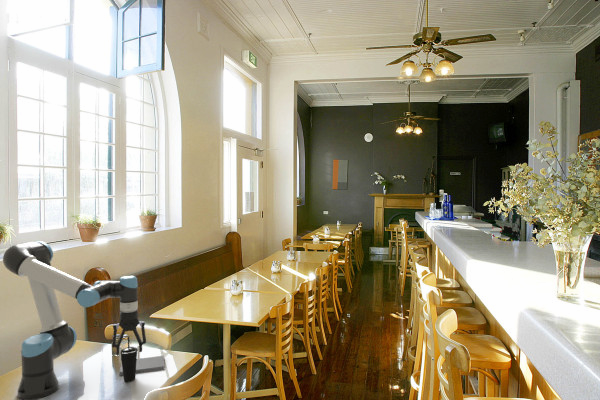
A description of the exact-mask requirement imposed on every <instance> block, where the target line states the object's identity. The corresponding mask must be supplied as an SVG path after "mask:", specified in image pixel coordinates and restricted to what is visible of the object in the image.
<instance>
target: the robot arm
mask: <svg viewBox="0 0 600 400" xmlns="http://www.w3.org/2000/svg"><path fill="white" fill-rule="evenodd" d="M53 257H54V251H53V249H52V247H51V246H50V245H49V244H48V243H46V242H45V241H36V240H35V241H30V242H25V243H19V244H15V245H14V244H13V245H12V246H10V247H8V248H7V249H6V250H5V252H4V253H3V256H2V261H3V262H2V263H3V265H4V267H5V269H6V270H8V271H9V272H11V273H12V274H15V275H17V276H18V277H22V278H24V277H27V280H28V283H29V286H30V290H31V293H32V296H33V300H34V303H35V307H36V311H37V314H38V317H39V321H40V325H41V328H40V329H39V333H38V334H35V335H31V336H29V337H27V338H26V339H24V341H22V344H21V350H20V352H21V353H20V354H21V372H22V373H21V379H20V382H19V385H18V388H17V398H18V399H19V400H20V399H21V400H36V399H37V400H38V399H40V398H44V397H47V396H50V395H52V394H54V393H55V392H56V391H58V390H59V387H60V386H59V379H58V378H57V376H56V373H55V369H54V367H55V366H54V360H56V359H58V358H59V357H61V356H62V355H64V354H66V353H68V352H69V351H70V350H71V349H73V348H74V347H75V345H76V342H77V336H78V335H77V332H76V330H75V328H73V327H72V326H71V325H69V324H68V323H69V322H68V321H67V320H64V318H63V317H62V312H61V309H60V305H59V301H58V298H57V295H56V292H55V290H56V291H58V292H60V293H62V294H65V295H67V296H68V297H69V296H70V297H71V298H73V299H76V300H77V304H79V306H81V307H82V308H89V307H92V306H96V304H99V303H100V302H103V301H105V300H107V299H109V298H119V311H120V312H119V318H120V319H119V323H113V325H112V328H113V336H112V343H111V347H112V348H115V349H116V355H117V356H118V355H119V357H118V359H119V361H118V363H122V361H121V354H120V352H121V350H122V349H123V348H122V345H121V343H122V341H123V338H124V336H125V332H133V334H134V336H135V338H136V341H137V345H136V346H137V347H136V348H138V351H137V359H138V360H139V359H140V358H141V355H140V354H141V353H142V352H143V345H145V344H146V343H147V336H146V330H145V325H146V324H145V323H146V321H145V320H143V321H139V312H138V311H139V310H138V309H139V305H138V303H139V301H138V300H139V299H138V292H139V291H138V290H139V285H138V278H137V277H136V276H135V275H123V276H121V277H120V278H119V280H106V279H105V280H97V281H94V283H93V285H92V284H89V283H87V282H85V281H83V280H81V279H78V278H76V277H74V276H72V275H70V274H67V273H66V272H63V271H61V270H59V269H56V268H55V267H54V266H53V267H52V264H51V262H52V261H53ZM138 325H139V327H140V329H141V330H140V331H141V335H142V339H141V337H140V334H139V331H138V329H137V326H138ZM119 327H120V328H121V330H122V331H121V333H120V335H119V338H118V342H117V334H118V332H117V331H118V329H119ZM116 342H117V343H116Z"/></svg>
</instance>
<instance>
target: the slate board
mask: <svg viewBox="0 0 600 400" xmlns="http://www.w3.org/2000/svg"><path fill="white" fill-rule="evenodd" d="M161 370H162V371H163V370H165V357H164V355H159V356H151V357H143V358H141V357H140V359H139V360H138V358H137V361H136V374H138V373H147V372H153V371H161ZM119 376H123V369H122V362H120V368H119Z"/></svg>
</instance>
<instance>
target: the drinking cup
mask: <svg viewBox="0 0 600 400" xmlns="http://www.w3.org/2000/svg"><path fill="white" fill-rule="evenodd" d="M121 349H122V350H121V352H120V354H121V363H122V369H123V375H122V376H123V381H124V382H125V383H130V382H131V383H132V382H134V381H135V380H136V376H137V375H136V374H137V373H136V361H137V359H138V347H135V346H130V336H127V346H126V347H124V348H121Z"/></svg>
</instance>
